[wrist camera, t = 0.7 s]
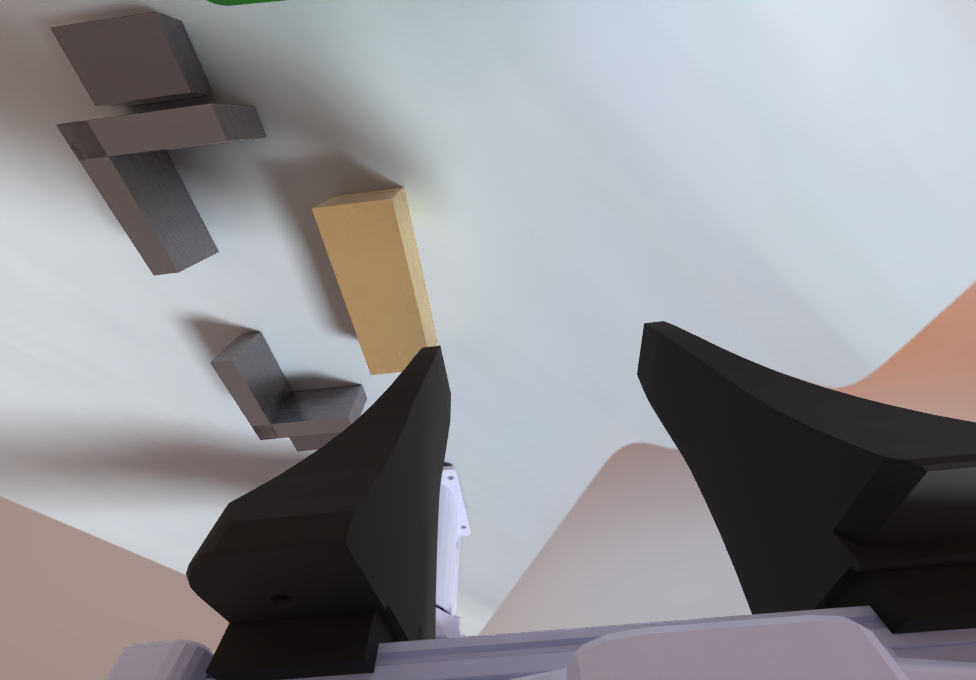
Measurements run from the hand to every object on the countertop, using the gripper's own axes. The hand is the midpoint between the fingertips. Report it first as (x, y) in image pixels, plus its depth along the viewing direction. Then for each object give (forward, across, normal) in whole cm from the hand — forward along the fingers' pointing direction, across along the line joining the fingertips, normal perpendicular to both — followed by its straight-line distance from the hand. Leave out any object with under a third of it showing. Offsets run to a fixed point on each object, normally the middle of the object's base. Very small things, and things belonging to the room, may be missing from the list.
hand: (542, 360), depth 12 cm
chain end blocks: (+9, +14, 0) cm, 17 cm away
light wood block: (+10, +7, 0) cm, 12 cm away
